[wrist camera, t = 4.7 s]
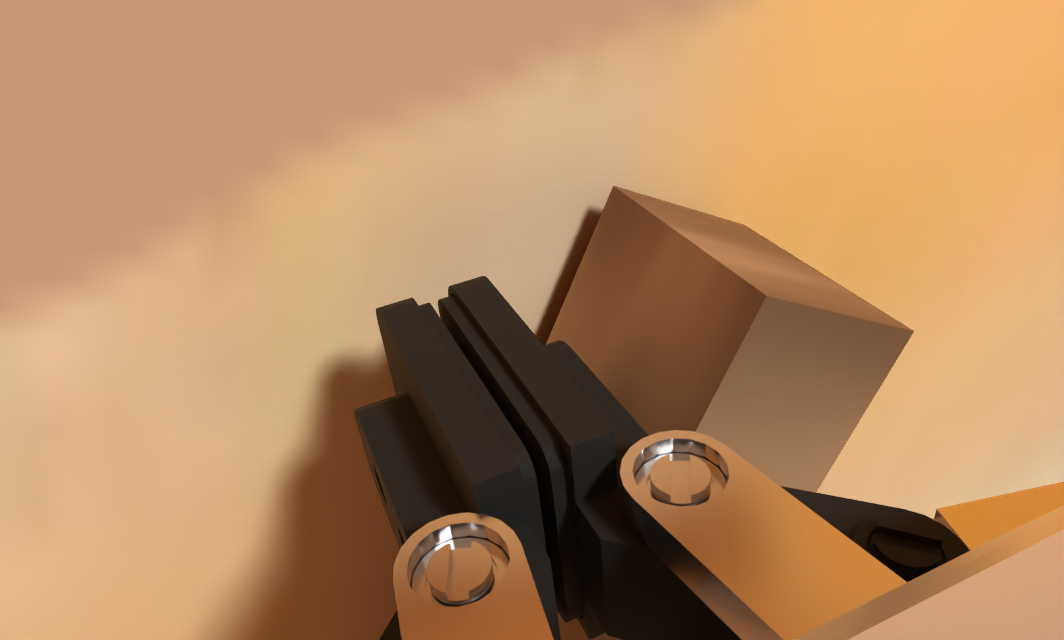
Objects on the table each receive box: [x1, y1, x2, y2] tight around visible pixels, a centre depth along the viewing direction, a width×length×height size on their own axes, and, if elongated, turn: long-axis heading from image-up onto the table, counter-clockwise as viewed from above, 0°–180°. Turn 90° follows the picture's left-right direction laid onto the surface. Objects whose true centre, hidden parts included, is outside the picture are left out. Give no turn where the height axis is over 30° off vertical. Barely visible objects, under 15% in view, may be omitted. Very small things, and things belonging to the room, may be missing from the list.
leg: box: [546, 186, 914, 640], centre depth 15 cm, size 16×4×4 cm, turn 159°
